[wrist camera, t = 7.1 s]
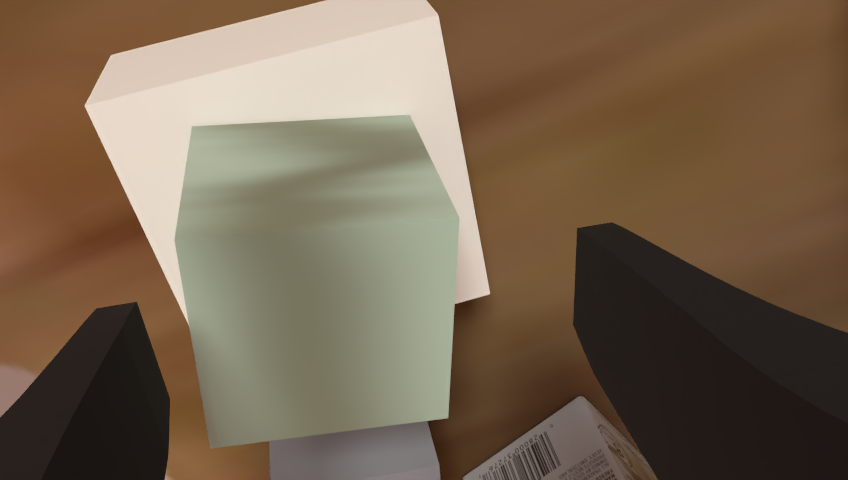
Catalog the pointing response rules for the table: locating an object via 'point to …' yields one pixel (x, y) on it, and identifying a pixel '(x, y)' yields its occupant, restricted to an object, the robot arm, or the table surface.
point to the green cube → (316, 277)
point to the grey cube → (358, 455)
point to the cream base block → (282, 103)
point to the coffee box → (567, 451)
